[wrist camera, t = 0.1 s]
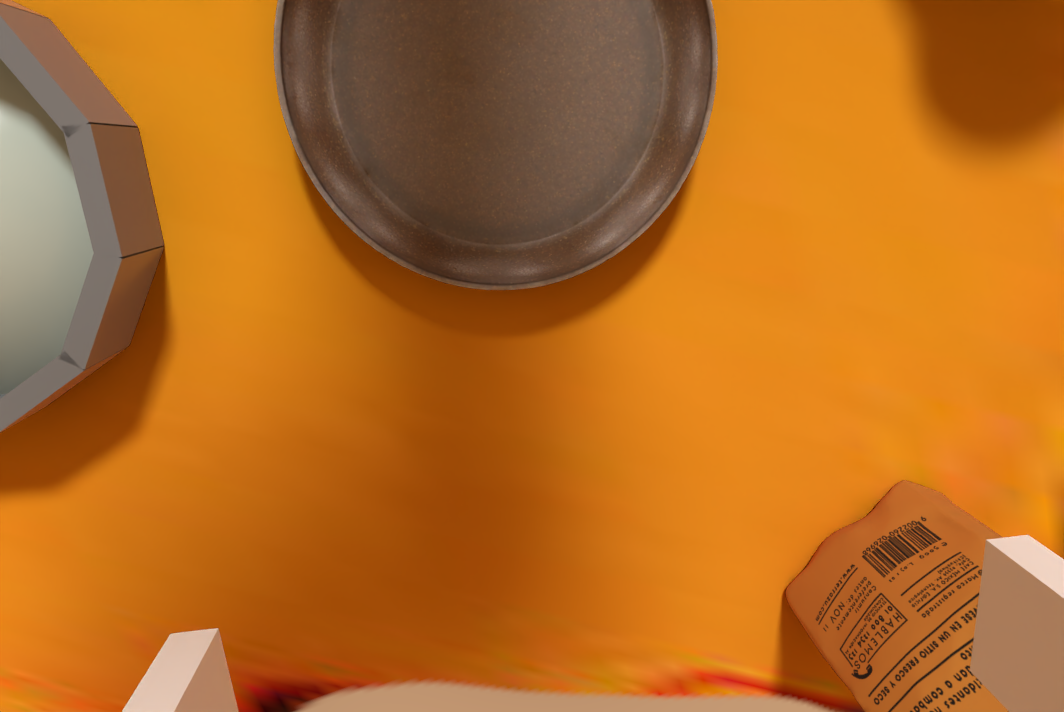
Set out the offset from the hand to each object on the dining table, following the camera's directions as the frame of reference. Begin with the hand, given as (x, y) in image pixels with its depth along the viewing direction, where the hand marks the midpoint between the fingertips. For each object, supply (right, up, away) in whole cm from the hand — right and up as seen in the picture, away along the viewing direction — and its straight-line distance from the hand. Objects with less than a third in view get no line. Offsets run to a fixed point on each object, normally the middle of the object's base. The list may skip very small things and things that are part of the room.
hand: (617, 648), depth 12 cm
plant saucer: (-3, +19, +24) cm, 31 cm away
